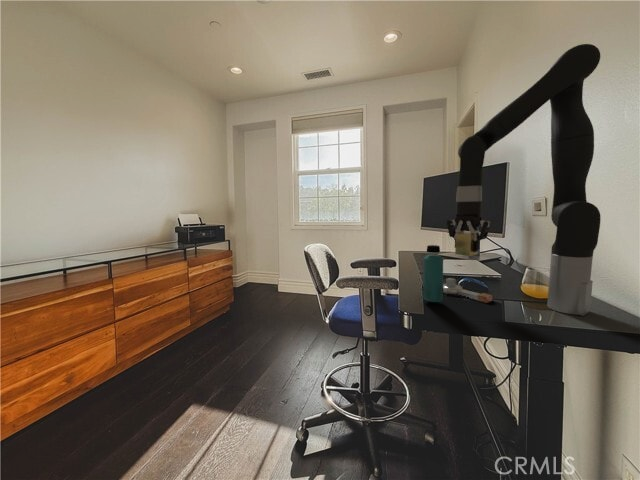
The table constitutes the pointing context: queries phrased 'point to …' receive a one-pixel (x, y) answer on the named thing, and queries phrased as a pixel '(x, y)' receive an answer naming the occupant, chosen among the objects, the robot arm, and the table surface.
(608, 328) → the table surface
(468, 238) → the beige rounded cube
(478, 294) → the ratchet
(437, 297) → the beverage bottle
